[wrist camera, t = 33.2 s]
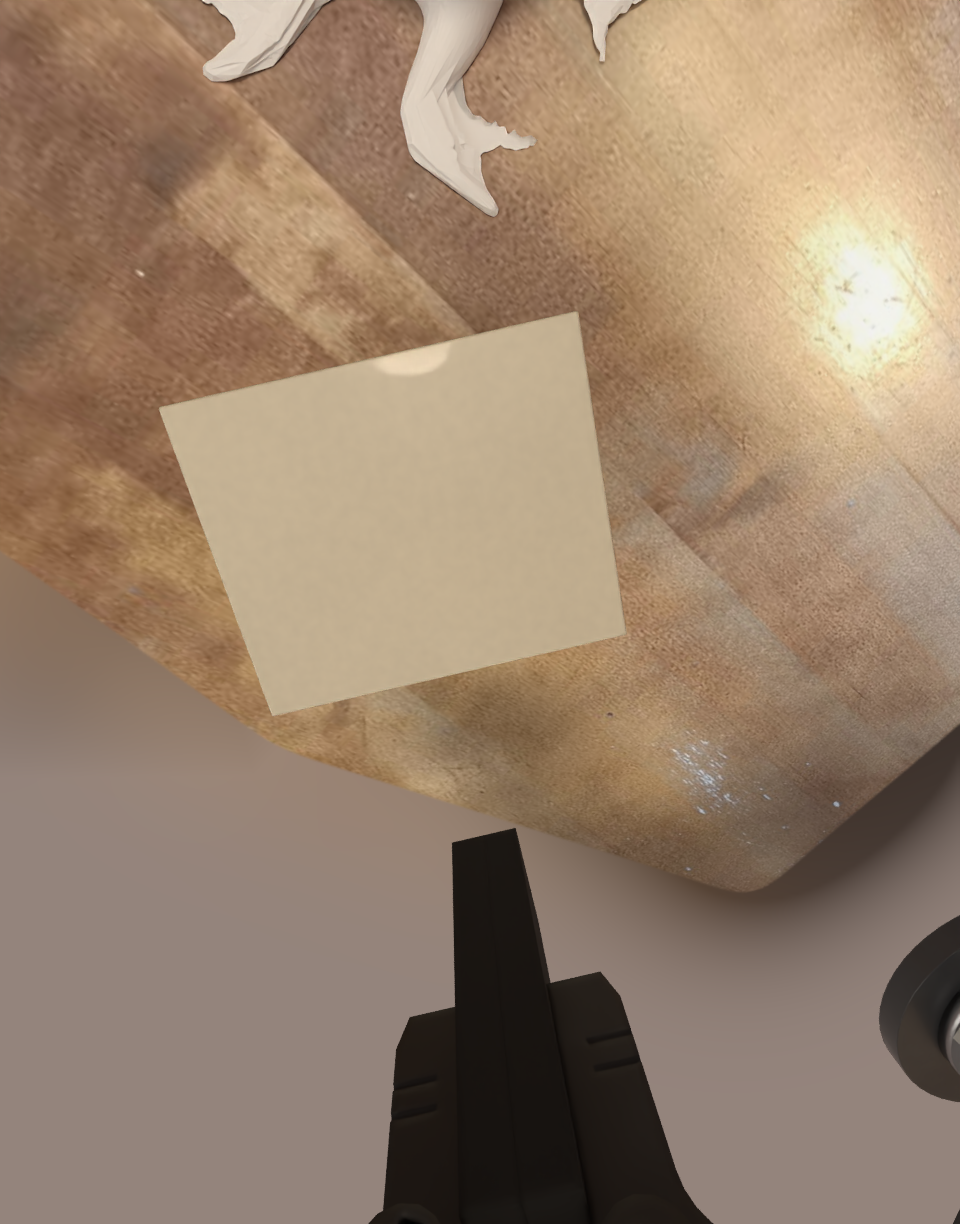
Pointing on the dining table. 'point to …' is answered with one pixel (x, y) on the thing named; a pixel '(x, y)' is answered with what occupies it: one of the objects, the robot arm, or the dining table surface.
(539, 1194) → the robot arm
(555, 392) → the lid
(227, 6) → the white tree stump
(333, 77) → the dining table surface
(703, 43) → the dining table surface
